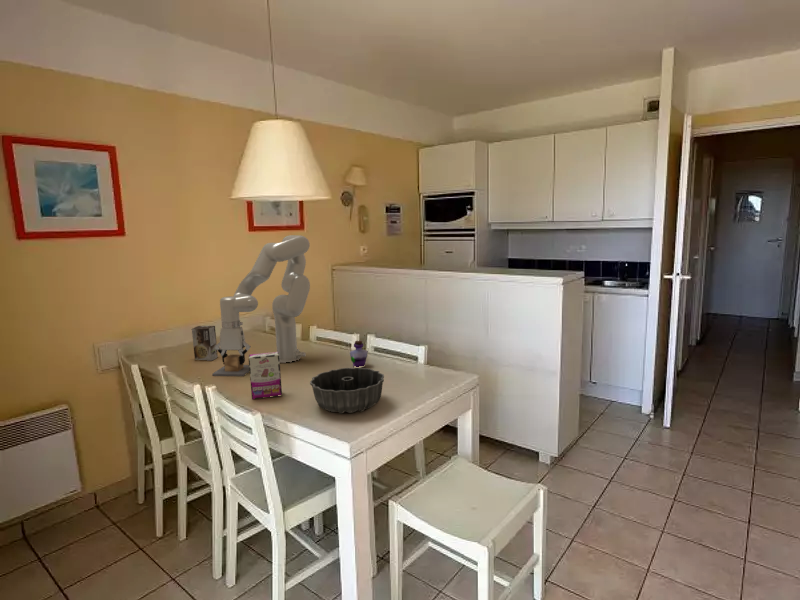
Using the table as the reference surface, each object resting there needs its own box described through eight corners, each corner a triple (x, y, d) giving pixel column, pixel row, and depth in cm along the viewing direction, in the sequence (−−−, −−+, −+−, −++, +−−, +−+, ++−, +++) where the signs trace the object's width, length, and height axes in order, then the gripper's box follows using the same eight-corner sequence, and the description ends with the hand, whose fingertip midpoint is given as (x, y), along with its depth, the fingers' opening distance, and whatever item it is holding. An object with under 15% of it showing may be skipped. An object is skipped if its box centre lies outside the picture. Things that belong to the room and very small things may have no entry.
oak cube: (243, 367, 213) (242, 354, 212) (238, 371, 207) (237, 358, 206) (231, 367, 213) (230, 354, 212) (224, 371, 207) (223, 358, 206)
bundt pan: (295, 409, 166) (294, 382, 164) (344, 387, 188) (343, 363, 186) (353, 425, 151) (352, 396, 150) (399, 399, 173) (398, 373, 171)
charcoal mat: (255, 367, 216) (255, 365, 216) (243, 376, 203) (243, 374, 203) (226, 366, 217) (225, 364, 217) (212, 375, 205) (212, 373, 204)
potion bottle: (346, 368, 212) (345, 342, 210) (355, 362, 220) (355, 337, 218) (362, 370, 208) (362, 344, 206) (372, 364, 216) (371, 339, 214)
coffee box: (218, 357, 234) (215, 325, 231) (212, 360, 227) (209, 328, 225) (200, 357, 235) (198, 325, 232) (194, 360, 228) (191, 328, 226)
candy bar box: (281, 392, 183) (279, 351, 181) (282, 396, 178) (279, 354, 176) (251, 395, 180) (248, 353, 178) (251, 399, 176) (248, 357, 173)
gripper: (253, 322, 210) (256, 361, 213) (216, 322, 211) (219, 361, 214) (246, 326, 202) (249, 366, 205) (207, 326, 204) (211, 366, 207)
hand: (233, 363), depth 210 cm, fingers open, 7 cm apart
